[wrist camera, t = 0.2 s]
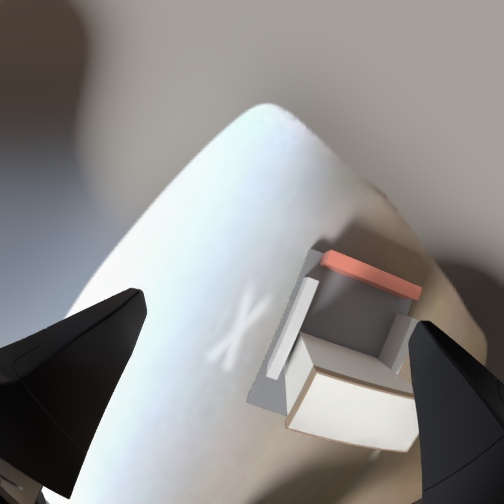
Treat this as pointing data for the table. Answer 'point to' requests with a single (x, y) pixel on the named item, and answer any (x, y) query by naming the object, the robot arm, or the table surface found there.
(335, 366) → the white box
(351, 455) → the table surface
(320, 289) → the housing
